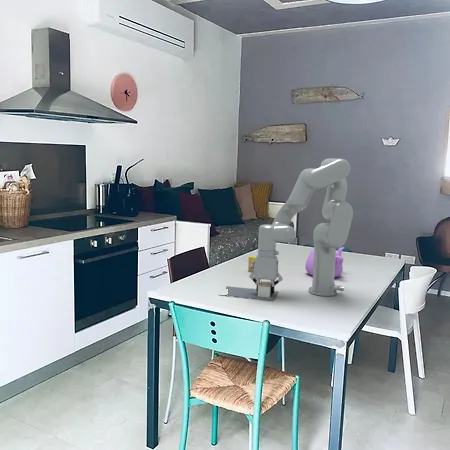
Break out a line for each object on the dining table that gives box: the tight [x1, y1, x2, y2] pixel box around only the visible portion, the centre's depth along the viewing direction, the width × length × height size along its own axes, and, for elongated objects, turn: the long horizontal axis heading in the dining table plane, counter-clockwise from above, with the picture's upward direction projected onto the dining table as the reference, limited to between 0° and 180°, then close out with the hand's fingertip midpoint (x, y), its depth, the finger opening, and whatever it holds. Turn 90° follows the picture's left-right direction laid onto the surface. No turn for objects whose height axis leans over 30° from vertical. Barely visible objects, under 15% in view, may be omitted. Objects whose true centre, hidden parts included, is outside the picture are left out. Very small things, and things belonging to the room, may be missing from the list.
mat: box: [225, 285, 279, 302], centre depth 203 cm, size 24×14×1 cm, turn 75°
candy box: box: [247, 255, 256, 273], centre depth 240 cm, size 16×2×8 cm, turn 62°
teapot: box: [304, 246, 345, 278], centre depth 240 cm, size 23×21×15 cm
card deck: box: [258, 279, 272, 298], centre depth 201 cm, size 5×9×5 cm, turn 165°
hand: (265, 293), depth 202 cm, fingers closed on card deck, 5 cm apart
